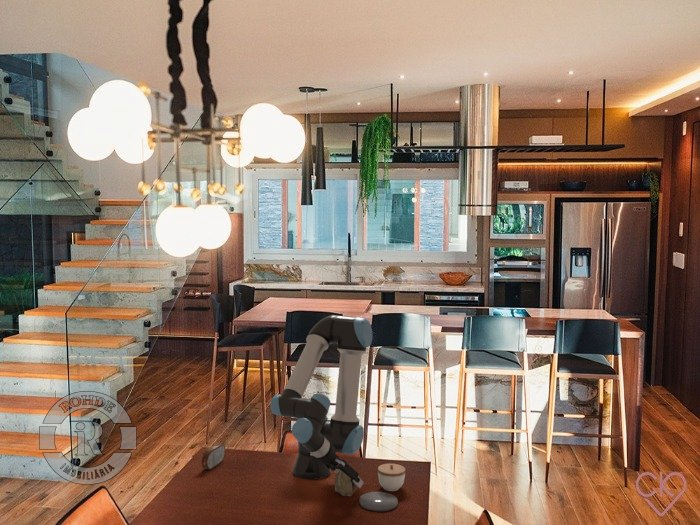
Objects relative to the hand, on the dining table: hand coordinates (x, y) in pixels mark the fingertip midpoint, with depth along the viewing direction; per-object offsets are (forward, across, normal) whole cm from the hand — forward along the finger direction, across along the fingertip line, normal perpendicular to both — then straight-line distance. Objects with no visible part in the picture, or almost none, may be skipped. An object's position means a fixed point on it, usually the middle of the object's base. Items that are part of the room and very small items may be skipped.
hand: (353, 481), depth 250 cm
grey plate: (+2, +14, -3) cm, 14 cm away
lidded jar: (+12, +8, +6) cm, 16 cm away
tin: (-16, -56, -22) cm, 62 cm away
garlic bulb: (0, 0, -5) cm, 5 cm away
